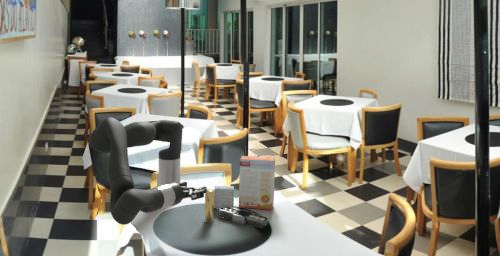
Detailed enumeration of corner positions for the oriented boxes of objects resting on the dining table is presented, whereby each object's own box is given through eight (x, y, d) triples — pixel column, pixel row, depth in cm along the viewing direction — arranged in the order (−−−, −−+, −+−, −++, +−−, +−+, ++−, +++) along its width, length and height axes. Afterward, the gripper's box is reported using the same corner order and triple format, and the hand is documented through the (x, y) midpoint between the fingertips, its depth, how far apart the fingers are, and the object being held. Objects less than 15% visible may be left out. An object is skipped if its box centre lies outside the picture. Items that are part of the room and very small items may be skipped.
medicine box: (233, 205, 187) (234, 185, 186) (233, 209, 183) (234, 189, 181) (214, 205, 187) (214, 185, 185) (213, 209, 183) (214, 188, 181)
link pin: (202, 221, 170) (203, 190, 168) (208, 218, 173) (208, 188, 170) (210, 223, 168) (210, 192, 166) (215, 220, 171) (216, 190, 169)
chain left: (218, 216, 175) (219, 209, 174) (226, 213, 179) (226, 206, 178) (233, 221, 171) (234, 213, 171) (240, 217, 175) (241, 209, 175)
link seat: (232, 221, 170) (232, 214, 170) (242, 216, 176) (242, 209, 175) (244, 225, 168) (244, 217, 167) (253, 219, 173) (253, 212, 173)
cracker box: (273, 205, 189) (275, 157, 185) (272, 210, 183) (274, 160, 179) (240, 202, 191) (242, 154, 187) (238, 207, 185) (239, 158, 181)
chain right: (245, 224, 168) (245, 216, 168) (252, 220, 172) (252, 212, 172) (261, 228, 165) (261, 221, 164) (268, 224, 169) (268, 217, 168)
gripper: (148, 202, 149) (179, 193, 163) (182, 212, 142) (211, 201, 156) (149, 180, 148) (180, 172, 162) (183, 188, 141) (213, 180, 155)
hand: (195, 187), depth 159 cm, fingers open, 8 cm apart
